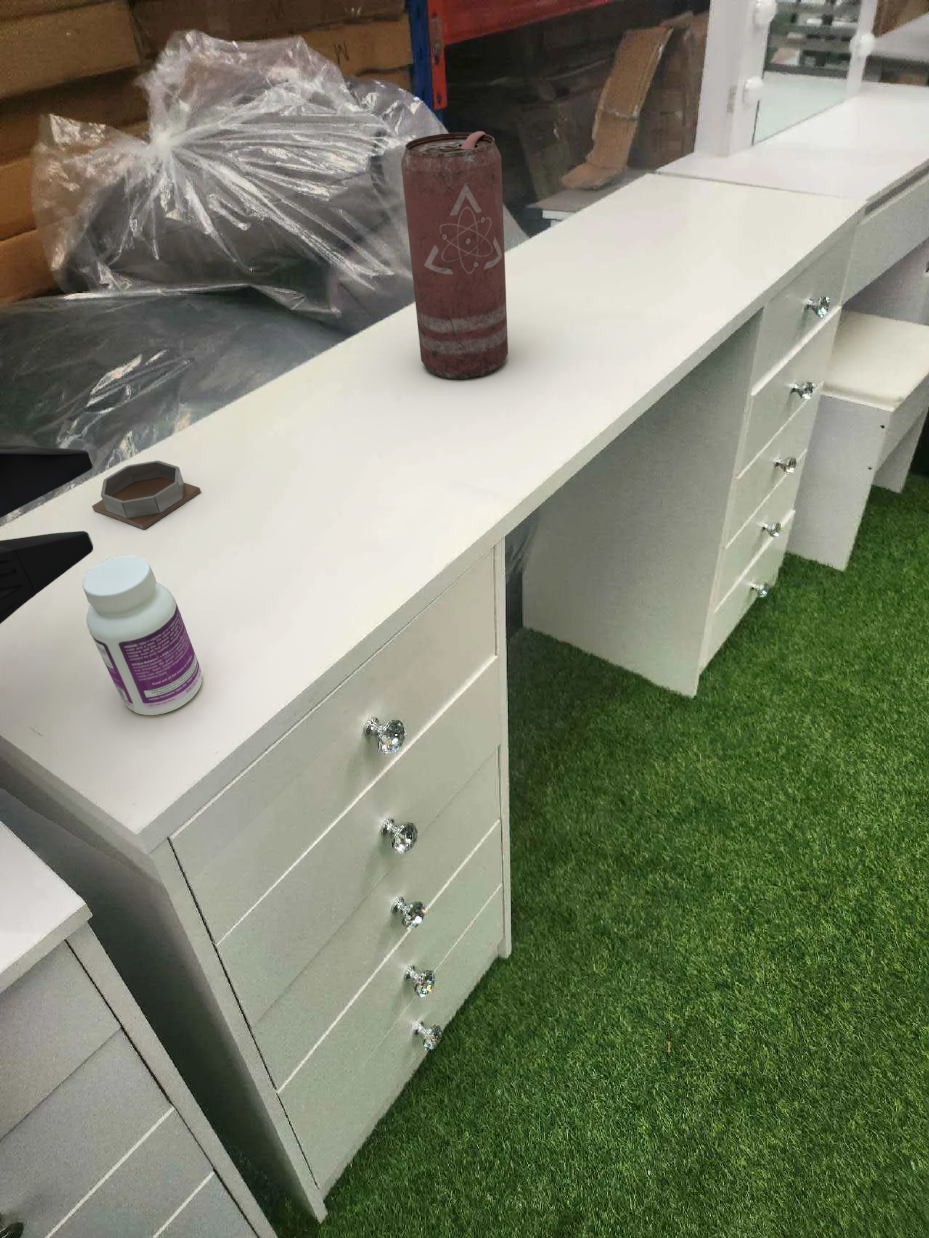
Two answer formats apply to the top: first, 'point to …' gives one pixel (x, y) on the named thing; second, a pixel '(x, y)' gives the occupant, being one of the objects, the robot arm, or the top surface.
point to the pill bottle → (140, 636)
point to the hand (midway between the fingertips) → (90, 496)
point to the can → (457, 252)
